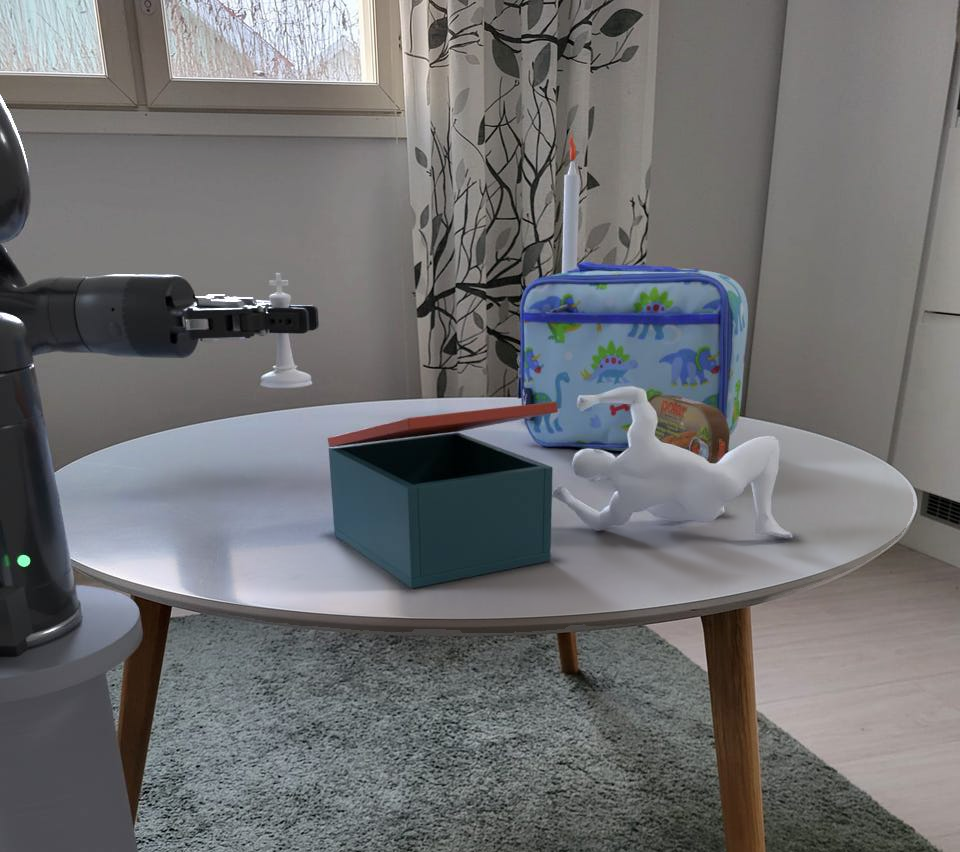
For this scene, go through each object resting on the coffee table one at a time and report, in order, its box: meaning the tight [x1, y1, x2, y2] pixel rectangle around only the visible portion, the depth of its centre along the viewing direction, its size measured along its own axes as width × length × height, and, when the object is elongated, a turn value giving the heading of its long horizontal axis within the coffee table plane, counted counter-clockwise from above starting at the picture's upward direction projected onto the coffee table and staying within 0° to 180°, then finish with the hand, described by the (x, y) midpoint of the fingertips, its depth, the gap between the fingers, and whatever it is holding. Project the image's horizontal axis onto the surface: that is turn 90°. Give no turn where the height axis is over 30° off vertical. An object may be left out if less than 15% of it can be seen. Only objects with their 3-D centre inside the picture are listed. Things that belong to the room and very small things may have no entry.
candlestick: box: [561, 133, 581, 273], centre depth 124 cm, size 11×11×35 cm
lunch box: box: [516, 260, 749, 452], centre depth 113 cm, size 26×11×21 cm, turn 62°
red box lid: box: [327, 402, 558, 448], centre depth 78 cm, size 17×13×1 cm
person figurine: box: [552, 386, 794, 539], centre depth 83 cm, size 13×13×18 cm
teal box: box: [328, 432, 554, 589], centre depth 80 cm, size 16×13×8 cm
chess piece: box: [259, 272, 313, 389], centre depth 91 cm, size 5×5×10 cm
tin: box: [648, 394, 731, 464], centre depth 101 cm, size 15×3×8 cm, turn 19°
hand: (311, 319), depth 90 cm, fingers closed on chess piece
